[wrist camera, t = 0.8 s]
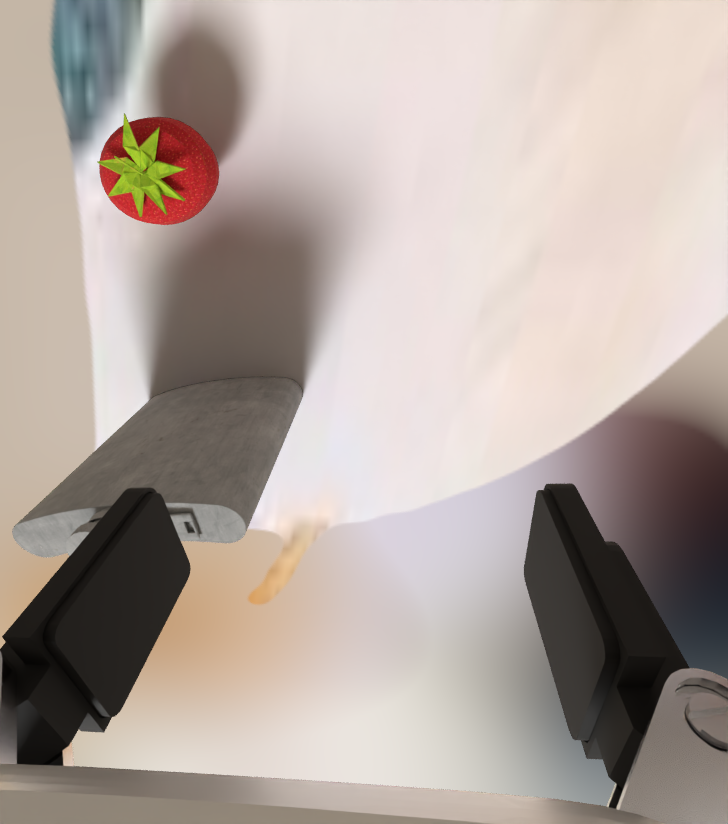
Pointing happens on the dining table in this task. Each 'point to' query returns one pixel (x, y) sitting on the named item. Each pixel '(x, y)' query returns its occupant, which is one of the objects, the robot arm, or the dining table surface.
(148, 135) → the strawberry
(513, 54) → the dining table surface
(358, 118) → the dining table surface
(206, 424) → the hip flask
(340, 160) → the dining table surface
